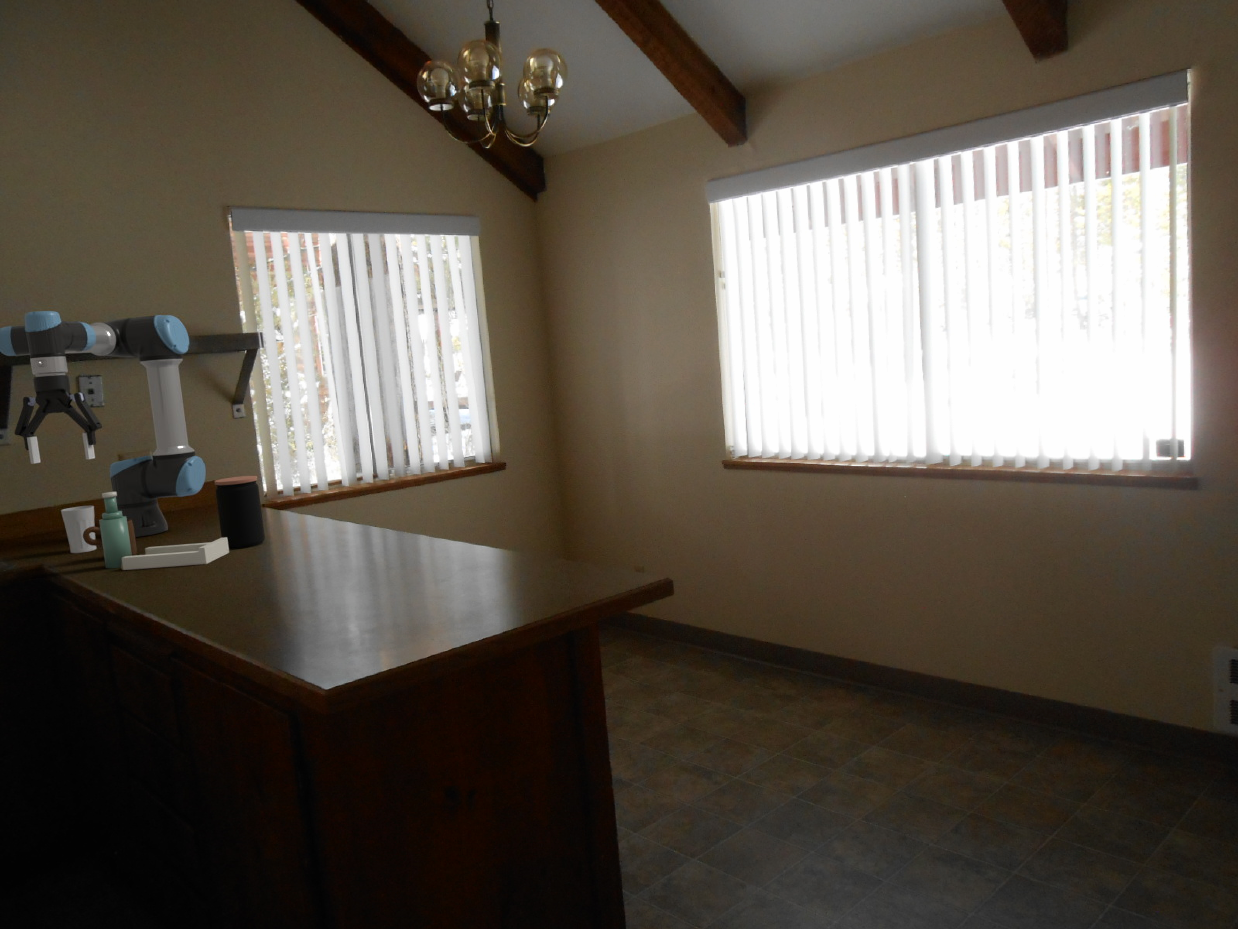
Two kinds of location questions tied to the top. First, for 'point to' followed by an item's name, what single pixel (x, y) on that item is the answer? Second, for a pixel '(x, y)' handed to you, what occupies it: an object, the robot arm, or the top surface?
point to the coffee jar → (240, 511)
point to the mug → (99, 542)
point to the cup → (78, 527)
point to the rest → (177, 555)
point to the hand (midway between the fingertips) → (63, 461)
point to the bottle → (114, 532)
